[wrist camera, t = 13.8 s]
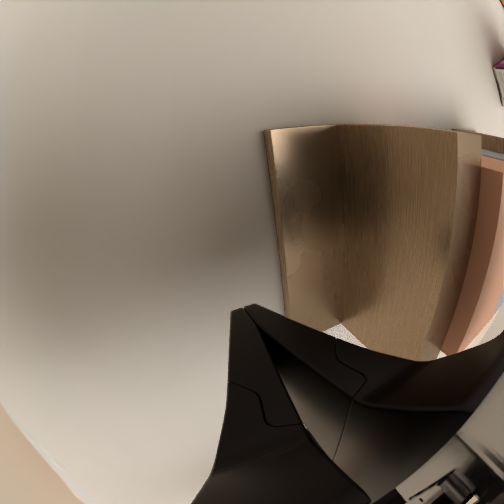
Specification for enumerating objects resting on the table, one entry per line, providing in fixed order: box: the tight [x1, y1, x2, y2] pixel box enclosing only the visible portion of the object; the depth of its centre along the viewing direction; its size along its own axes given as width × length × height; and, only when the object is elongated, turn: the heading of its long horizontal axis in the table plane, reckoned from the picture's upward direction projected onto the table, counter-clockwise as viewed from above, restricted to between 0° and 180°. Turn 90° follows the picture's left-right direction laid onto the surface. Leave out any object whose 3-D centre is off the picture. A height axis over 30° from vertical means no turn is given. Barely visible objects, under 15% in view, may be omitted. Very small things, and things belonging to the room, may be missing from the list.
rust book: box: [441, 155, 504, 356], centre depth 10 cm, size 8×4×7 cm, turn 7°
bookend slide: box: [264, 124, 481, 361], centre depth 10 cm, size 10×5×6 cm, turn 7°
